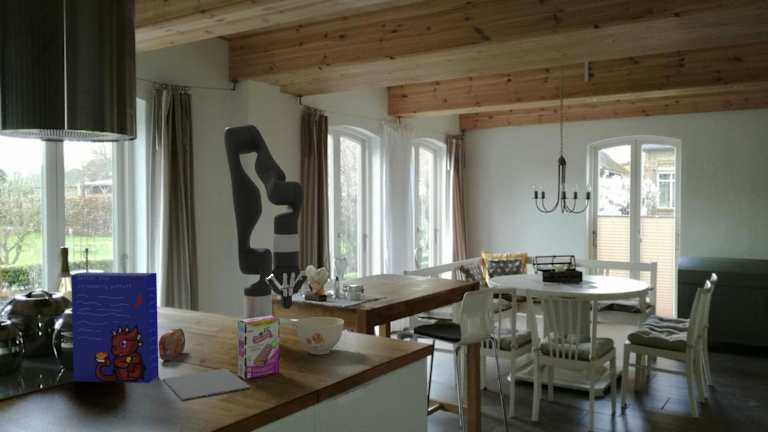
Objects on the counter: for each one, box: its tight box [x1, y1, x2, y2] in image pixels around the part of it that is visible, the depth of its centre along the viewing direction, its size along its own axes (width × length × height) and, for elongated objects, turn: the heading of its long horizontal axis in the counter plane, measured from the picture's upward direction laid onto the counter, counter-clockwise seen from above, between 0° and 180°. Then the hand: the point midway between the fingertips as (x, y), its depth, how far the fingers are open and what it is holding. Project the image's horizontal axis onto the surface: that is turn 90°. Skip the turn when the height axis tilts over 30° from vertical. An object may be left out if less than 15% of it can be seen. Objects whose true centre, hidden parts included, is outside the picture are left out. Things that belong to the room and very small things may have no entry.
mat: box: [162, 368, 251, 401], centre depth 169 cm, size 18×20×1 cm
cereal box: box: [70, 271, 160, 384], centre depth 174 cm, size 22×6×30 cm, turn 84°
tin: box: [158, 328, 186, 362], centre depth 197 cm, size 15×3×8 cm, turn 176°
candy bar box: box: [237, 315, 281, 381], centre depth 177 cm, size 11×5×16 cm, turn 130°
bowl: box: [294, 316, 345, 355], centre depth 202 cm, size 16×16×10 cm
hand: (286, 308), depth 181 cm, fingers closed
